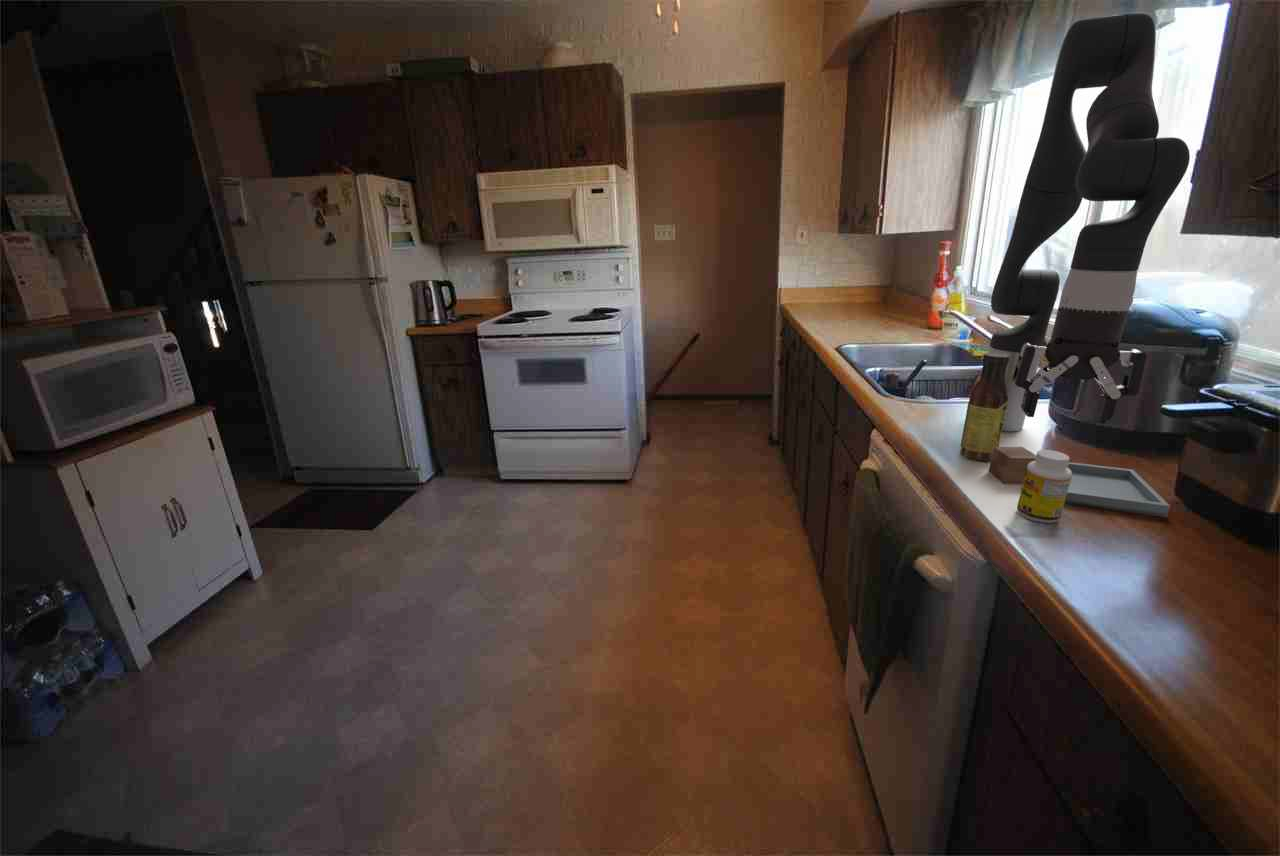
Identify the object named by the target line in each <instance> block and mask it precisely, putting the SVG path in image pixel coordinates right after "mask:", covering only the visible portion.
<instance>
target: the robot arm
mask: <svg viewBox="0 0 1280 856" xmlns="http://www.w3.org/2000/svg"><path fill="white" fill-rule="evenodd" d="M1156 29H1157V28H1156V24H1155V20H1154V18H1153V17H1152V15H1150V13H1148V12H1147V13H1145V12H1130V13H1121V14H1114V15H1113V14H1112V15H1106V16H1099V17H1097V16H1096V17H1090V18H1084V19H1079V20H1077V21H1074V23H1072V24H1071V26H1070V27H1069V28H1068V30H1067V31H1066V33H1065V35H1064V38H1063V40H1062V43H1061V46H1060V48H1059V50H1058V51H1059V52H1058V56H1057V60H1056V63H1055V69H1054V73H1053V77H1052V81H1051V86H1050V91H1049V96H1048V99H1047V104H1046V108H1045V113H1044V117H1043V121H1042V126H1041V131H1040V134H1039V137H1038V140H1037V144H1036V147H1035V150H1034V155H1033V156H1032V160H1031V162H1030V163H1031V164H1030V167H1029V170H1028V173H1027V176H1026V179H1025V182H1024V185H1023V189H1022V193H1021V196H1020V201H1019V205H1018V209H1017V213H1016V217H1015V222H1014V224H1013V225H1014V226H1013V227H1012V228H1013V229H1012V233H1011V237H1010V240H1009V243H1008V246H1007V249H1006V251H1005V254H1004V256H1003V260H1002V262H1001V266H1000V268H999V271H998V274H997V277H996V280H995V283H994V286H993V289H992V294H991V299H990V307H991V310H992V312H993V313H994V314H997V315H1003V316H1015V317H1016V316H1018V317H1019V316H1021V317H1028V319H1027V320H1026V321H1025V322H1023V323H1021V324H1019V325H1016V326H1014V327H1010V328H1006V329H1003V330H999V331H996V332H994V333H993V334H992V335H991V338H990V343H989V347H988V352H987V353H1001V354H1006V355H1009V363H1008V364H1007V367H1006V373H1005V382H1006V388H1007V394H1008V404H1007V409H1006V413H1005V419H1004V423H1003V429H1002V432H1018V431H1019V432H1020V431H1022V430H1023V429H1024V428H1023V427H1024V423H1025V419H1026V417H1028V418H1034V417H1035V412H1036V410H1037V405H1038V401H1039V397H1040V392H1039V390H1041V388H1043V387H1044V386H1046V385H1047V384H1050V383H1051V382H1053V381H1054V380H1055V379H1057V378H1058V377H1060V378H1062V379H1065V380H1068V379H1069V380H1071V379H1080V380H1084V381H1091V380H1092V379H1093V380H1095V381H1096V382H1097V384H1098V385H1099V387H1100V388H1101V389H1102V391H1103V394H1100V398H1099V401H1098V403H1097V406H1096V411H1095V414H1094V421H1095V422H1096V423H1097V424H1102V425H1105V424H1107V421H1111V419H1112V418H1113V416H1114V414H1115V410H1116V407H1117V403H1118V401H1119V399H1120V398H1122V397H1127V396H1132V397H1133V396H1137V395H1138V394H1139V391H1140V386H1141V382H1142V377H1143V373H1144V370H1145V365H1146V360H1147V353H1145V352H1143V351H1142V350H1139V349H1138V348H1131V349H1129V350H1120V349H1119V344H1120V343H1121V339H1122V337H1123V334H1124V333H1123V332H1124V329H1125V325H1126V322H1127V318H1128V316H1129V312H1130V308H1131V306H1132V305H1133V303H1134V295H1135V291H1136V285H1137V284H1136V283H1137V276H1138V270H1139V268H1140V265H1141V261H1142V257H1143V254H1144V251H1145V250H1144V249H1145V247H1146V245H1147V241H1148V238H1149V236H1150V233H1151V231H1152V230H1153V227H1154V225H1155V224H1156V221H1157V220H1158V218H1159V216H1160V214H1161V212H1162V211H1163V209H1164V208H1165V206H1166V205H1167V203H1168V202H1169V200H1170V198H1171V197H1172V195H1174V193H1175V191H1176V190H1177V188H1178V186H1179V184H1180V183H1181V181H1182V180H1183V177H1184V176H1185V174H1186V173H1187V170H1188V168H1189V165H1190V158H1191V155H1190V149H1189V146H1188V145H1187V143H1186V142H1185V141H1184V140H1183V139H1182V138H1178V137H1172V136H1170V137H1168V136H1167V137H1158V134H1159V130H1160V121H1159V118H1158V117H1159V116H1158V114H1157V110H1156V106H1155V102H1154V98H1153V79H1154V70H1155V69H1154V68H1155V59H1156V58H1155V55H1156V40H1157V32H1156V31H1157V30H1156ZM1103 87H1105V88H1104V89H1103V90H1102V91H1101V92H1100V93H1099V94H1098V95H1097V96H1096V98H1095V99H1094V100H1093V102H1092V104H1091V105H1090V107H1089V109H1088V111H1087V114H1086V122H1085V123H1086V125H1085V126H1086V127H1085V128H1086V135H1087V136H1086V137H1087V143H1088V144H1087V145H1088V146H1087V150H1086V147H1085V146H1084V143H1083V141H1082V140H1081V137H1080V134H1079V132H1078V129H1077V126H1076V122H1075V118H1074V114H1073V99H1074V94H1075V92H1076V91H1077V90H1079V89H1080V90H1081V89H1082V90H1083V89H1092V88H1093V89H1094V88H1103ZM1083 199H1084V200H1086V201H1090V202H1123V201H1124V202H1125V201H1127V202H1128V201H1129V202H1131V201H1132V202H1133V201H1134V204H1133V206H1132V207H1130V209H1129V210H1128V211H1127V212H1125V214H1123V215H1122V216H1120V217H1116V218H1113V219H1107V220H1102V221H1095V222H1091V223H1088V224H1086V225H1085V226H1083V227H1082V229H1080V231H1079V234H1078V236H1077V241H1076V244H1075V248H1074V252H1073V255H1072V260H1071V262H1070V263H1071V264H1070V268H1069V272H1068V275H1067V278H1066V279H1065V283H1064V284H1063V289H1062V292H1061V296H1060V299H1059V303H1058V306H1057V307H1058V308H1057V313H1056V315H1055V320H1054V323H1053V326H1052V327H1053V328H1052V331H1051V335H1050V336H1051V337H1050V339H1049V342H1048V343H1047V344H1046V345H1045V346H1044V342H1045V339H1046V336H1047V335H1046V334H1047V331H1048V329H1049V328H1048V327H1049V323H1050V321H1051V317H1052V313H1053V310H1054V307H1055V304H1056V301H1057V297H1058V294H1059V290H1060V285H1061V284H1060V282H1061V281H1060V280H1061V279H1060V274H1059V273H1058V272H1057V271H1055V270H1053V269H1033V268H1032V269H1029V268H1028V269H1025V268H1024V266H1025V264H1026V263H1027V261H1028V260H1029V258H1030V257H1031V256H1032V255H1033V253H1034V252H1035V251H1036V250H1038V248H1039V247H1040V246H1041V245H1043V243H1045V242H1046V241H1047V240H1048V239H1050V238H1051V237H1052V236H1054V235H1055V234H1056V233H1057V232H1059V230H1060V229H1061V228H1063V227H1064V226H1065V225H1066V224H1068V222H1069V221H1070V220H1071V219H1072V218H1073V217H1074V215H1075V214H1076V213H1077V212H1078V211H1079V209H1080V206H1081V204H1082V201H1083ZM1023 268H1024V269H1023ZM1043 355H1044V357H1045V360H1046V361H1047V363H1045V365H1043V366H1042V367H1041V368H1039V369H1038V366H1039V362H1040V358H1041V356H1043ZM1119 360H1120V363H1121V365H1122V366H1124V368H1123V375H1122V379H1121V383H1120V384H1118V385H1117V384H1116V383H1115V380H1114V378H1113V377H1112V375H1111V374H1110V372H1109V371H1108V369H1109V368H1110V367H1111V366H1112V365H1114V364H1115V363H1116V362H1118V361H1119Z"/></svg>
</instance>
